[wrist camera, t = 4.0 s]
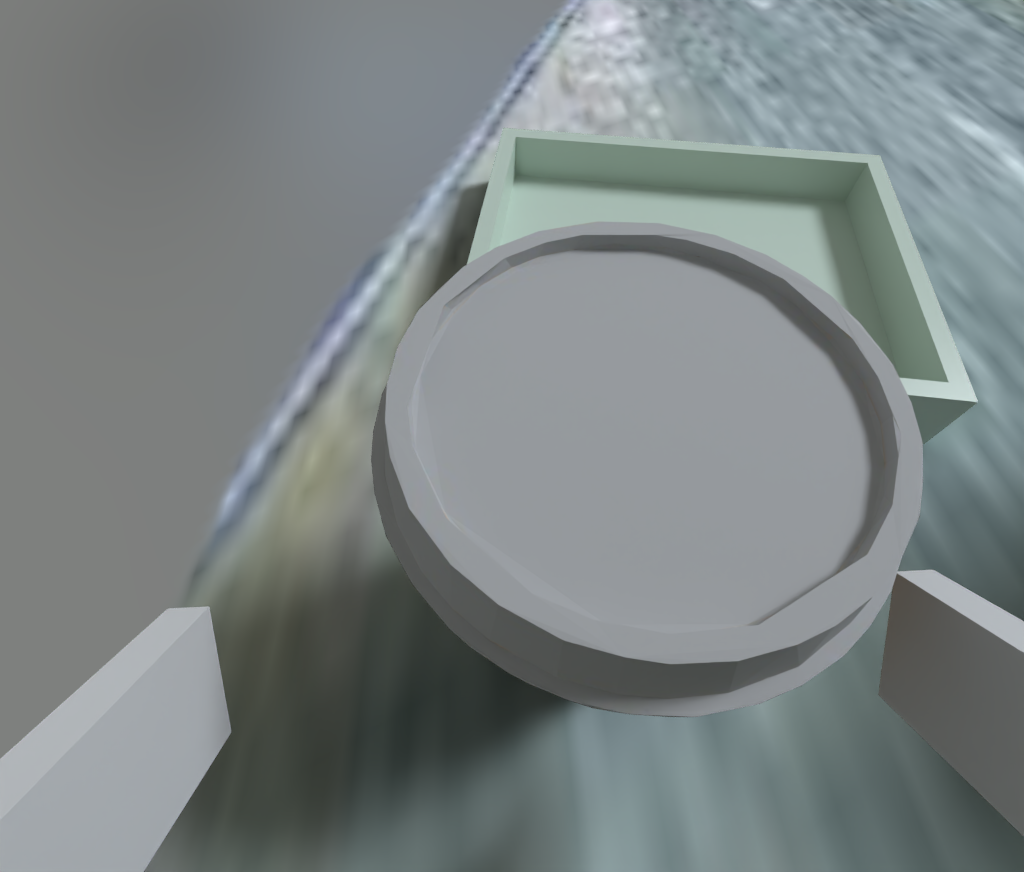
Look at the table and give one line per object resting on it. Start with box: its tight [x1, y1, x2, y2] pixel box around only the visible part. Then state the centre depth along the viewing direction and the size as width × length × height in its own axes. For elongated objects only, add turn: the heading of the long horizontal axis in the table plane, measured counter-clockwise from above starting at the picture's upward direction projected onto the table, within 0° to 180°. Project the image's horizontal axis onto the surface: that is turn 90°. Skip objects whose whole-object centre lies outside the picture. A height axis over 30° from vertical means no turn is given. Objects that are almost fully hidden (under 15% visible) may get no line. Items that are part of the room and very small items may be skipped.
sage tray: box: [467, 128, 978, 444], centre depth 26 cm, size 20×16×3 cm
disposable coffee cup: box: [371, 221, 923, 717], centre depth 14 cm, size 10×10×12 cm
